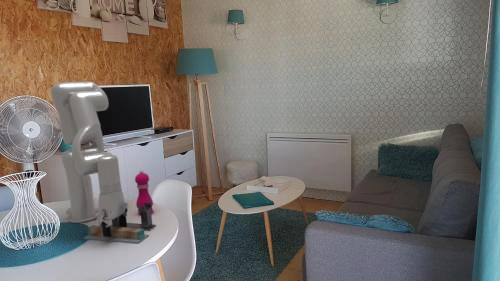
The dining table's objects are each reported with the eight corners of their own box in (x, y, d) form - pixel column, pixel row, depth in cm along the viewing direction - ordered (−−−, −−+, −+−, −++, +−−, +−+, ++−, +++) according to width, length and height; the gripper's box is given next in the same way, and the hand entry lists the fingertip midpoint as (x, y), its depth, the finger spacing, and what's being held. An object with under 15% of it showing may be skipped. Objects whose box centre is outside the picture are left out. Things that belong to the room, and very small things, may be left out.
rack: (108, 228, 157) (105, 204, 155) (116, 223, 162) (114, 200, 160) (149, 231, 151) (146, 206, 149) (156, 226, 156) (153, 202, 154)
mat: (84, 239, 147) (83, 237, 147) (96, 232, 153) (96, 230, 153) (138, 243, 139) (138, 242, 139) (148, 236, 146) (148, 234, 146)
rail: (88, 235, 149) (87, 228, 148) (93, 232, 151) (92, 225, 151) (140, 239, 141) (139, 232, 141) (144, 236, 144) (144, 229, 144)
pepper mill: (156, 210, 176) (151, 167, 173) (150, 215, 169) (146, 171, 165) (141, 210, 176) (136, 168, 173) (134, 216, 169) (130, 172, 166)
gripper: (116, 181, 153) (121, 222, 155) (86, 194, 136) (91, 240, 139) (132, 182, 150) (137, 223, 153) (103, 195, 134) (109, 241, 137)
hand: (115, 231), depth 146 cm, fingers open, 9 cm apart
